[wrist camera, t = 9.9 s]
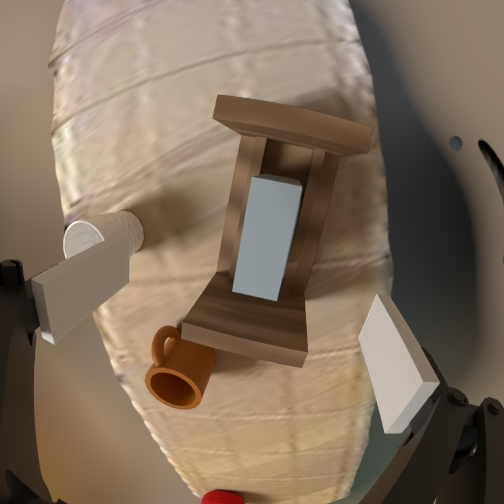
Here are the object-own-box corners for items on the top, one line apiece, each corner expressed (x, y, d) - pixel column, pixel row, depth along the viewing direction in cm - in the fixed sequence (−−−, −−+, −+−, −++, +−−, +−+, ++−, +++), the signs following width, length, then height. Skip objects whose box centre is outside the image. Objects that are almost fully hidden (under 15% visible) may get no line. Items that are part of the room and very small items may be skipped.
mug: (205, 314, 41) (187, 350, 33) (220, 373, 45) (209, 412, 36) (153, 316, 43) (128, 347, 34) (173, 372, 46) (156, 406, 38)
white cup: (140, 201, 37) (98, 213, 28) (154, 253, 39) (117, 279, 30) (100, 212, 39) (56, 227, 29) (113, 260, 41) (74, 285, 31)
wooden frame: (246, 120, 32) (217, 94, 19) (341, 141, 31) (372, 127, 18) (216, 282, 39) (181, 338, 26) (300, 302, 38) (301, 367, 25)
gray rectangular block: (265, 173, 33) (252, 176, 22) (300, 180, 33) (305, 187, 21) (251, 251, 36) (232, 291, 25) (283, 258, 36) (279, 301, 24)
